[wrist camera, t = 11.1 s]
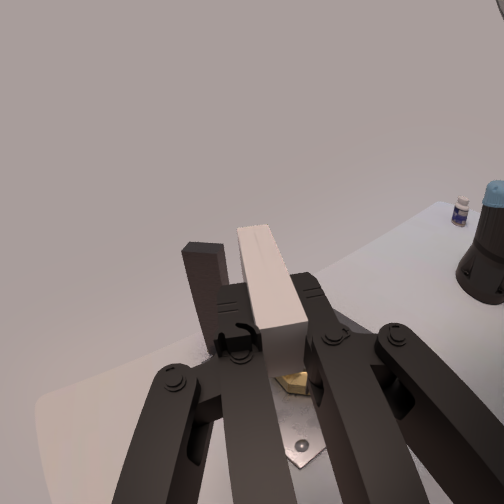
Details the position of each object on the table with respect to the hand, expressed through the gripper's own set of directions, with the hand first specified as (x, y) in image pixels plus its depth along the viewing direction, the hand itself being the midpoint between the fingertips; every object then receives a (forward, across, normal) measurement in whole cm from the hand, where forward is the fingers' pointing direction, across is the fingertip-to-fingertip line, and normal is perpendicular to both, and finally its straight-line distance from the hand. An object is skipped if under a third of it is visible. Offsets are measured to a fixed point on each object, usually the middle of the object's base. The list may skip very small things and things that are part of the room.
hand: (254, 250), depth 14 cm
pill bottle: (+42, +71, -26) cm, 86 cm away
